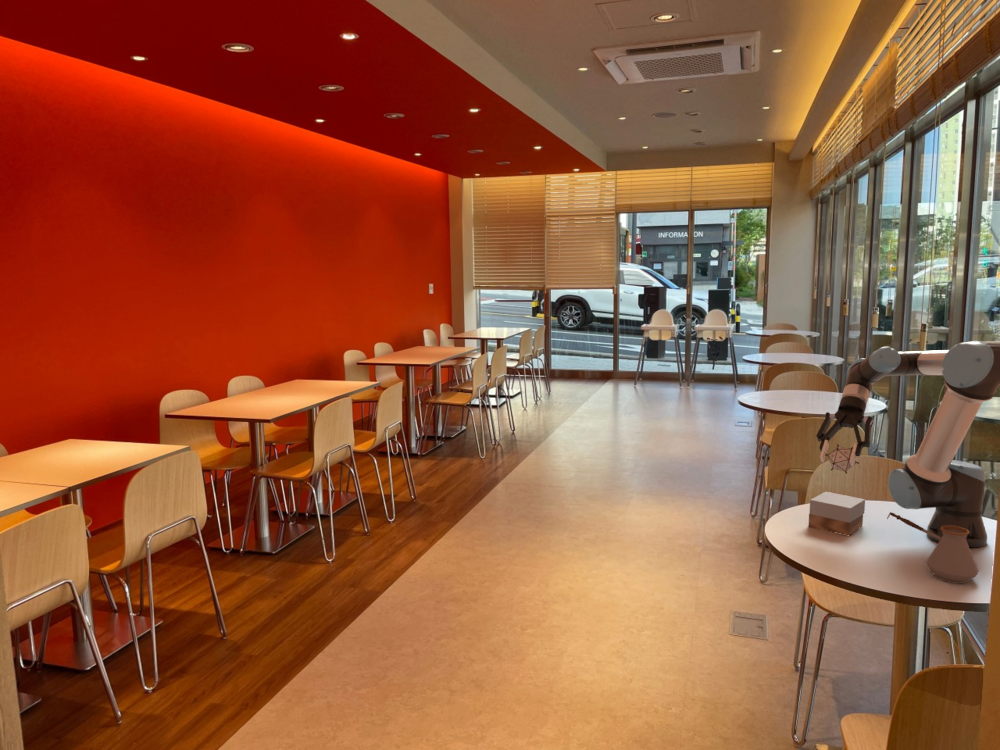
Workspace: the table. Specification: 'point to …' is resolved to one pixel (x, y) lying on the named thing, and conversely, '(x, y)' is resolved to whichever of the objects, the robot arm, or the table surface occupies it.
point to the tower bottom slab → (835, 524)
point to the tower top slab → (837, 506)
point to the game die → (841, 458)
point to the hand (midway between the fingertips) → (836, 461)
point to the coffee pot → (949, 554)
